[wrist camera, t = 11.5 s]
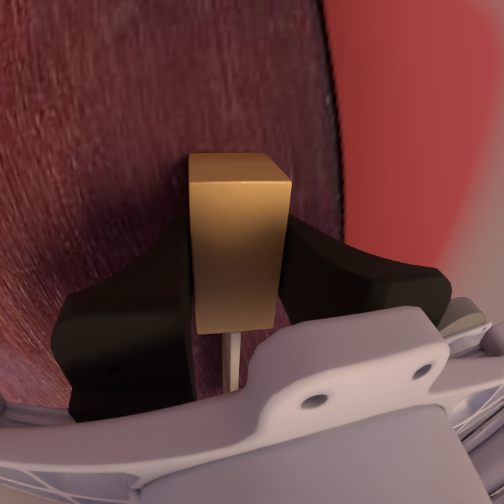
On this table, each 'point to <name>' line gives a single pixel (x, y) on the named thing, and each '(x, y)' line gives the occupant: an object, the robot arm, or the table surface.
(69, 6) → the table surface
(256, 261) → the chisel
